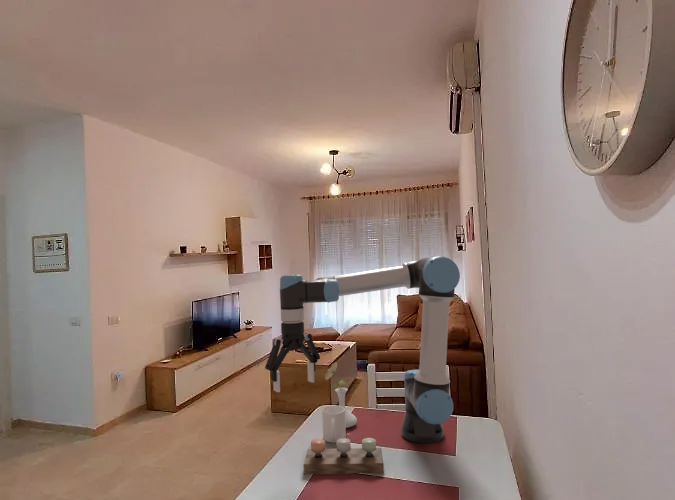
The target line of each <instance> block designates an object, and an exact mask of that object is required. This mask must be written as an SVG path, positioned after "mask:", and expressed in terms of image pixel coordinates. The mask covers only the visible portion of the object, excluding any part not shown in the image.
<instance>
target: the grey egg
mask: <svg viewBox="0 0 675 500" xmlns="http://www.w3.org/2000/svg"><path fill="white" fill-rule="evenodd" d="M335 444H336V449H337V451H339V452H341V455H342V456H346V452H348V451H350V450H351V448H352V447H351V440H350V438H346V437H345V438H341V439H338V440H337V441H336V443H335Z"/></svg>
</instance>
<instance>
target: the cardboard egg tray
mask: <svg viewBox="0 0 675 500" xmlns="http://www.w3.org/2000/svg"><path fill="white" fill-rule="evenodd" d="M384 465H385V464H384V459H383V450H382V447H376V450H375V451H373V452H372V455H371V456H368V455H367V452H366V451H363V450H362V447H360V448H359V447H356V448H353V447H351V450H350V451H348V452H346V456H342V455H341V452H339V451H337V448H325V451H323V452H321V456H316V453H315V452H312V451H311V448H308V449H307V450H306V454H305V458H304V462H303V474H304V475H348V474H347V473H354V474H355V473H377V474H384V473H385V469H384ZM354 474H353V475H354ZM355 475H356V474H355Z"/></svg>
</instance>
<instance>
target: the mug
mask: <svg viewBox="0 0 675 500" xmlns="http://www.w3.org/2000/svg"><path fill="white" fill-rule="evenodd" d="M345 408H346V407H345ZM345 408H344V407H341V406H339V405H329V406H325V407H323V408H322V411H321V413H322V414H321V415H322V417H321V418H322V419H321V420H322V439H323V440H325V442H326V443H332V444H336V441H337V440H338V439H341V438H346V437H347V436H346V435H347V433H346V432H347V431H346V429H347V428H346V425H345Z"/></svg>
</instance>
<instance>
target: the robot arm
mask: <svg viewBox="0 0 675 500" xmlns="http://www.w3.org/2000/svg"><path fill="white" fill-rule="evenodd" d="M460 274H461V272H460V268H459V267H458V265H457V264H456V262H454V260H452V258H450V257H446V256H444V255H443V256H442V255H433V256H426V257H422V258H420V259H416V260H413V261H409V262H408V261H407V262H403V264H402V265H400V266H392V267H386V268H380V269H374V270H373V269H371V270H367V271H366V270H365V271H360V272H354V273H346V274H342V275H341V274H340V275H334V276H327V277H326V276H325V277H317V278H316V279H306V280H305V279H304V278H303V275H302V274H283V275H281V276H280V278H279V297H280V298H279V299H280V321H281V324H280V331H281V332H280V333H281V338H274V339H273V340H272V341H273V342H272V348H271V351H270V353H269V355H268V359H267V361H266V364H265V367H264V369H265V370H268V371H270V379H271V382H273V383H272V384H273V392H276V393H281V377H280V376H281V375H280V373H281V372H280V370H279V368H280V366H281V365H282V363H283V361H284V360H285V358H286V356H287V355H288V354H289V353H290V352H293V351H298V350H300V352H301V353H302V354H303V355H304V356H305V357H306V359H307V360H308V361H307V362H306V363H307V382H310V383H315V372H316V364H317V363H318V361H319V360H320V359H321V356H320V354H319V352H318V349H317V348H316V347H317V346H316V345H315V343H314V341H313V335H312V333H308V332H305V321H303V320H305V313H304V312H305V311H304V304H308V303H310V304H311V303H334V302H338V301H339V299H340V297H344V296H350V295H356V294H364V293H369V292H370V293H371V292H377V291H384V290H390V289H396V288H406V289H408V290H409V289H417V288H418V296H419V297H420V298H421V300H422V312H421V313H422V314H421V333H420V334H421V335H420V351H419V367H418V368H419V369H409V370H407V371H405V372H404V376H403V382H404V402H405V403H404V405H405V413H404V416H403V419H402V423H401V428H400V429H401V431H400V432H401V433H400V434H401V436H402V437H403V438H404V439H406V440H408V441H410V442H414V443H419V444H432V443H437V442H439V441H441V440H442V439H443V438H444V437H445V431H444V430H445V429H444V426H443V423H445V422H446V421H447V420H448V419H450V417H451V416H452V414H453V411H454V402H453V399H452V397H451V394H450V391H451V390H450V389H451V379H450V378H449V377H448V376H447V375H446V373H447V358H448V357H447V356H448V355H447V353H448V352H447V351H448V335H449V334H448V332H449V317H450V316H449V315H450V314H449V313H450V303H451V302H452V300H454V299H455V291H456V288H457V286H458V284H459V282H460V277H461V275H460ZM304 341H305V343H306V344H305V343H304ZM306 345H307V346H306ZM307 347H308V348H307Z"/></svg>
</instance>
